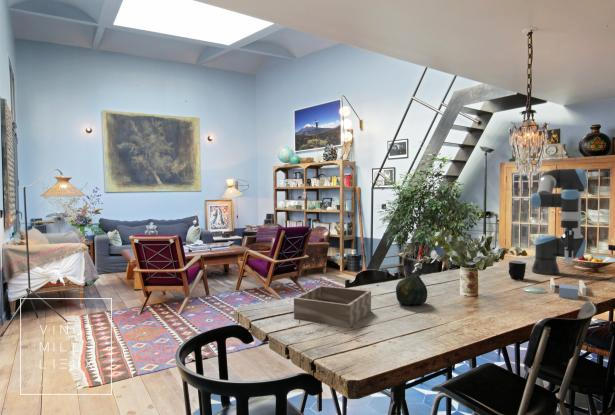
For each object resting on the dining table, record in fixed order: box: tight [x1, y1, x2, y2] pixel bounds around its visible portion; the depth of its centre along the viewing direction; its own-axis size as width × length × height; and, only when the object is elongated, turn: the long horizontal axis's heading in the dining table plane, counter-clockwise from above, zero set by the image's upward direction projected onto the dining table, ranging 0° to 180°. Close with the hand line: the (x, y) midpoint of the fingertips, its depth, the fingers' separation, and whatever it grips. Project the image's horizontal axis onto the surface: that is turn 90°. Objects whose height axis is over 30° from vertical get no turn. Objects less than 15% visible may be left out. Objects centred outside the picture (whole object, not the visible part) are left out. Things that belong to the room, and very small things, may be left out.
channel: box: [549, 277, 587, 297], centre depth 225 cm, size 18×15×4 cm
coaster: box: [522, 286, 548, 294], centre depth 225 cm, size 11×11×1 cm
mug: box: [508, 260, 527, 281], centre depth 251 cm, size 12×9×10 cm
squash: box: [395, 273, 428, 306], centre depth 203 cm, size 14×15×15 cm
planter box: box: [293, 285, 372, 329], centre depth 187 cm, size 25×25×9 cm
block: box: [558, 283, 579, 300], centre depth 213 cm, size 8×8×5 cm
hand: (568, 261), depth 217 cm, fingers open, 13 cm apart
